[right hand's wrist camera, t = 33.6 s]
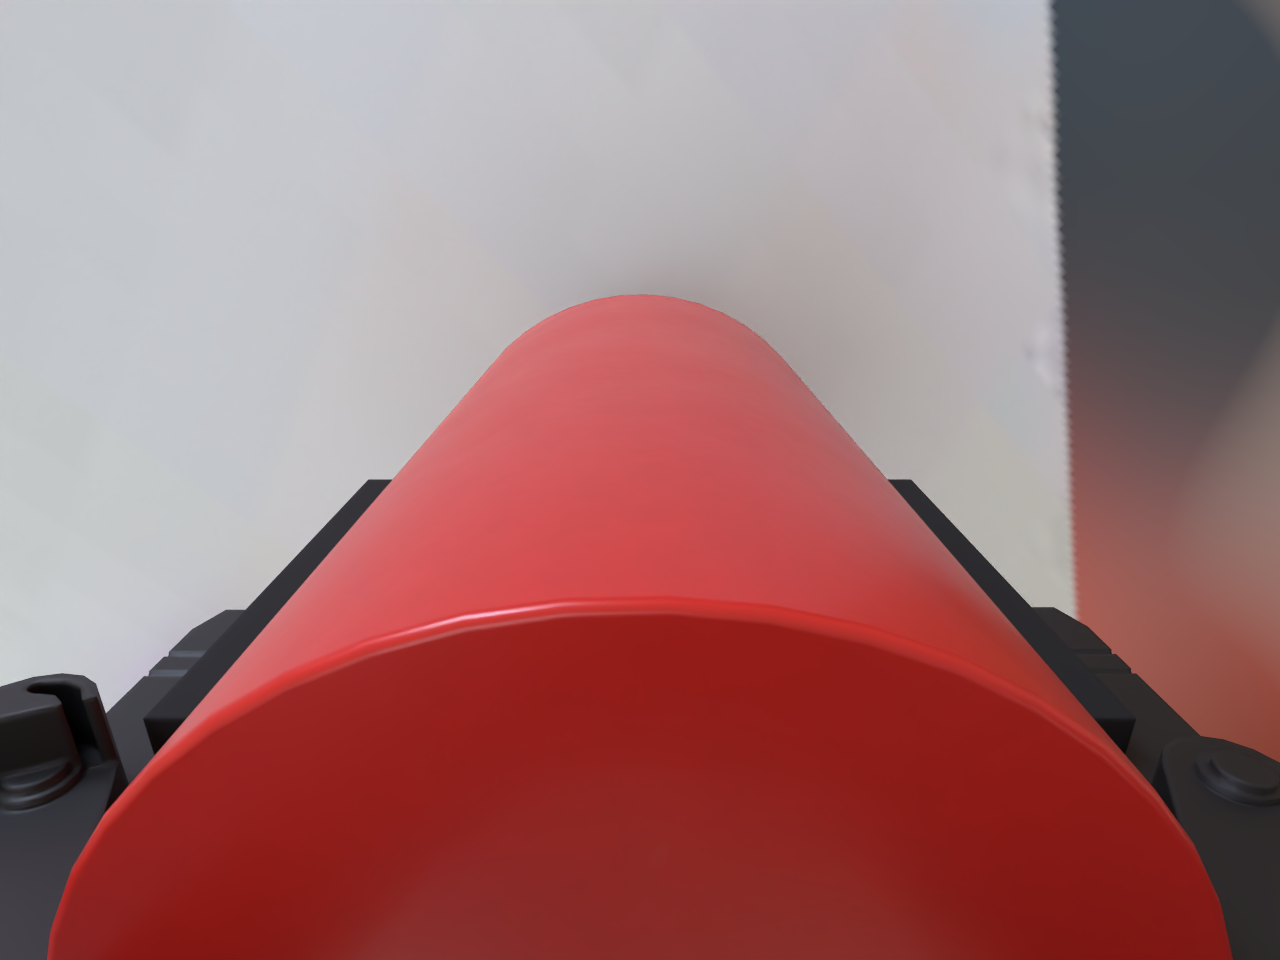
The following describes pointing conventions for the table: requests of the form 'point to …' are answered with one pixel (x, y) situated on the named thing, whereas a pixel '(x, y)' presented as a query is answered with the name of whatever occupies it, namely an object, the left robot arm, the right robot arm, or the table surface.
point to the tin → (639, 710)
